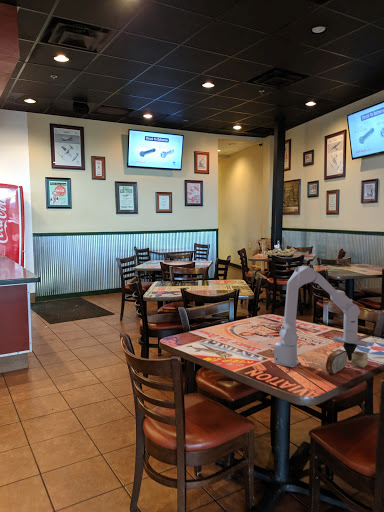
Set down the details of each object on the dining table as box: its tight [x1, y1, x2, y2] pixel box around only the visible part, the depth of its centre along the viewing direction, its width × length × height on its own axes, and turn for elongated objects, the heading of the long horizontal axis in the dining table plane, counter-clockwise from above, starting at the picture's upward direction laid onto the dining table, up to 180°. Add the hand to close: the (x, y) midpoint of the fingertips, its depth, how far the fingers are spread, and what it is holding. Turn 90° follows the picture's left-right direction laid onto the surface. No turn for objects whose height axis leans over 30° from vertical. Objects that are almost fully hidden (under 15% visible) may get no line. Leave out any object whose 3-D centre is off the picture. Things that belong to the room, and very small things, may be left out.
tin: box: [325, 348, 348, 375], centre depth 162 cm, size 15×3×8 cm, turn 135°
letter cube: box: [351, 350, 369, 369], centre depth 169 cm, size 5×5×5 cm
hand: (350, 359), depth 171 cm, fingers closed
